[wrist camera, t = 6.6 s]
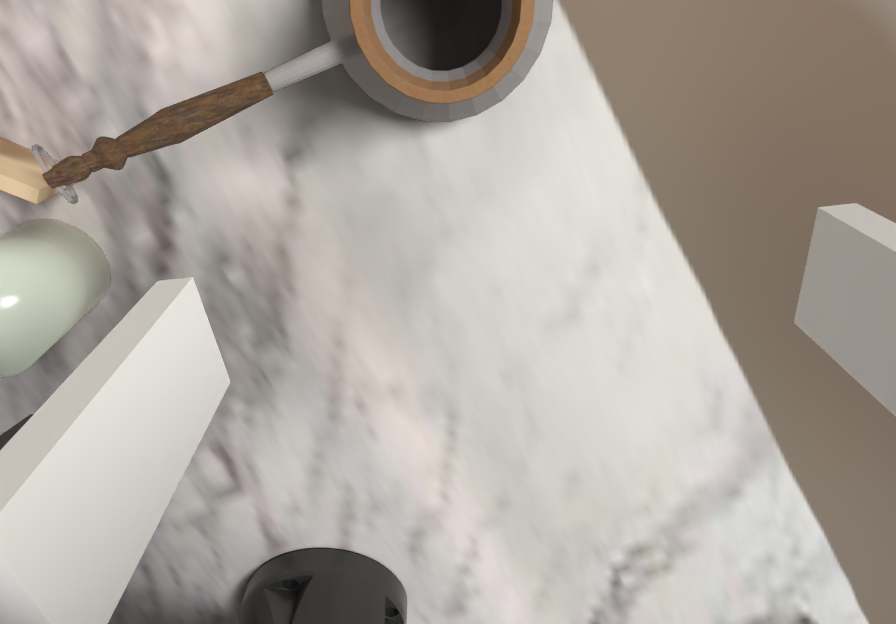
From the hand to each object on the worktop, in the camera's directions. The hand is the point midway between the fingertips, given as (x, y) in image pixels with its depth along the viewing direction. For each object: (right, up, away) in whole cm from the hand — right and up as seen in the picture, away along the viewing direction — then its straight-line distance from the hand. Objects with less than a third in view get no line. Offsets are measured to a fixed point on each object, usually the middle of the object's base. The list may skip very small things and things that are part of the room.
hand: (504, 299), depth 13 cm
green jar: (-27, +3, +25) cm, 37 cm away
